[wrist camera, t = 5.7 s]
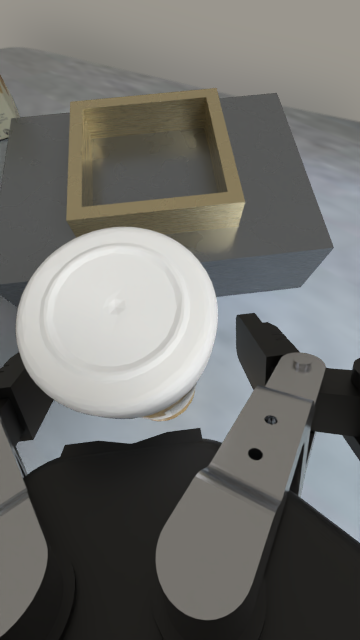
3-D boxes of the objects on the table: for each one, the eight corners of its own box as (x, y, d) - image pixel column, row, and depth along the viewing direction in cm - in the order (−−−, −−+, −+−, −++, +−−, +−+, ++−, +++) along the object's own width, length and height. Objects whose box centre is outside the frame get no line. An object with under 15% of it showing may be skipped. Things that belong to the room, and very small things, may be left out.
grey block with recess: (260, 153, 26) (285, 60, 19) (300, 287, 21) (353, 224, 14) (-2, 179, 25) (-67, 93, 19) (-23, 323, 20) (-122, 275, 14)
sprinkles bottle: (113, 392, 18) (-40, 323, 6) (157, 339, 20) (108, 188, 7) (168, 437, 17) (123, 473, 5) (210, 379, 19) (262, 285, 6)
